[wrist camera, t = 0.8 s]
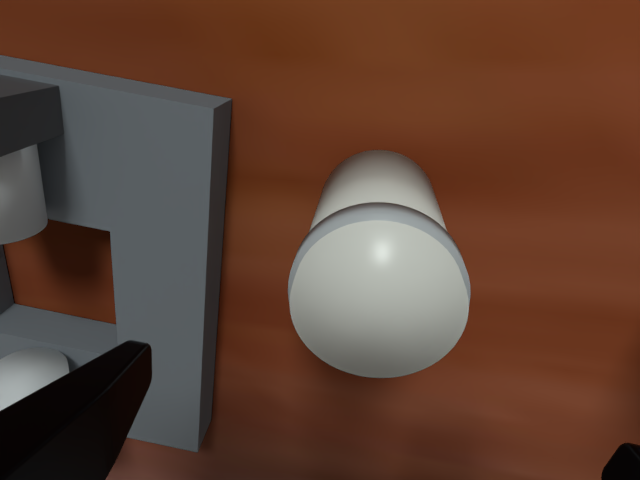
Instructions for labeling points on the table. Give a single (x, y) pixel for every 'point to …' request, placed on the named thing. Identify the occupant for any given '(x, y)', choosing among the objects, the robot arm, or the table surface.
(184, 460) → the table surface
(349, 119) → the table surface
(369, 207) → the coupler
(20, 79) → the shaft mount
